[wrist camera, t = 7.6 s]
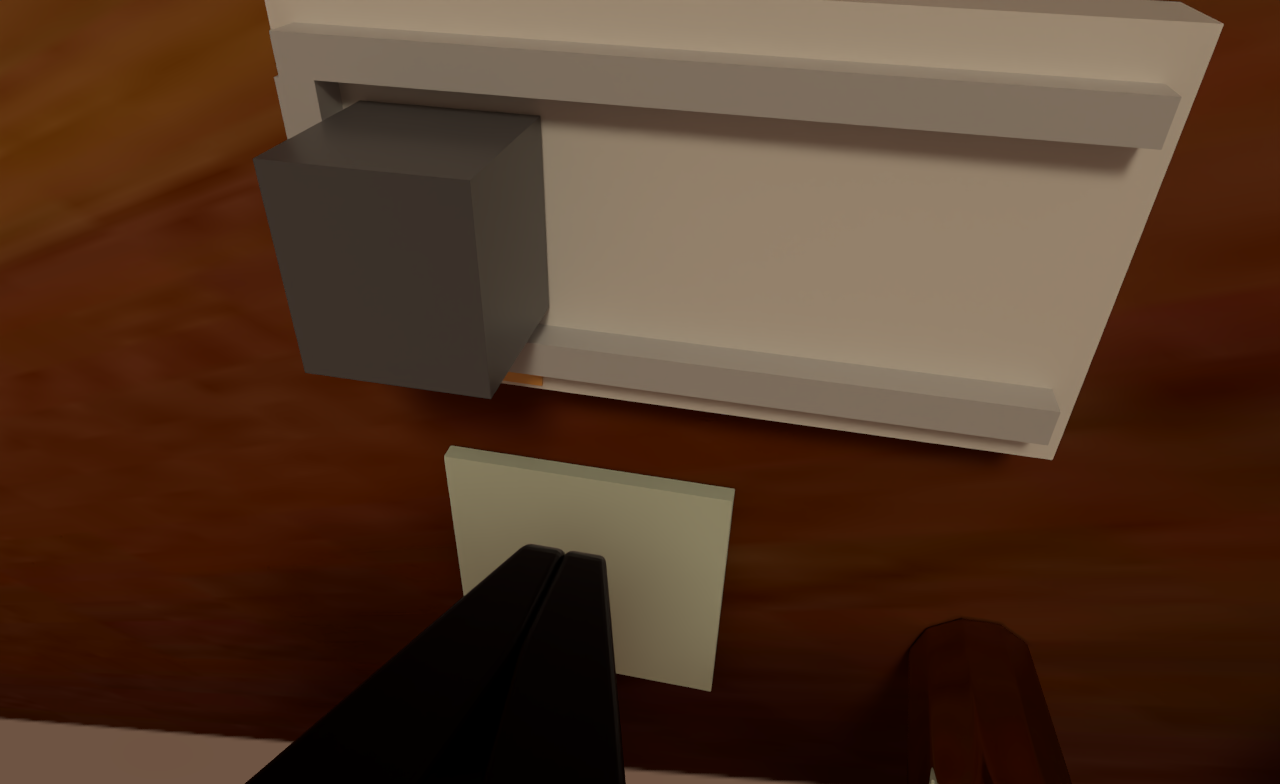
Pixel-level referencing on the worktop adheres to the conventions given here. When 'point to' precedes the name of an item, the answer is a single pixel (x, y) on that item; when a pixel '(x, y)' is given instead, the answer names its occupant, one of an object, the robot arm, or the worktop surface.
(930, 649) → the milkshake
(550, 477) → the mat
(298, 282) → the switch tab
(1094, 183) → the switch panel
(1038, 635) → the worktop surface
